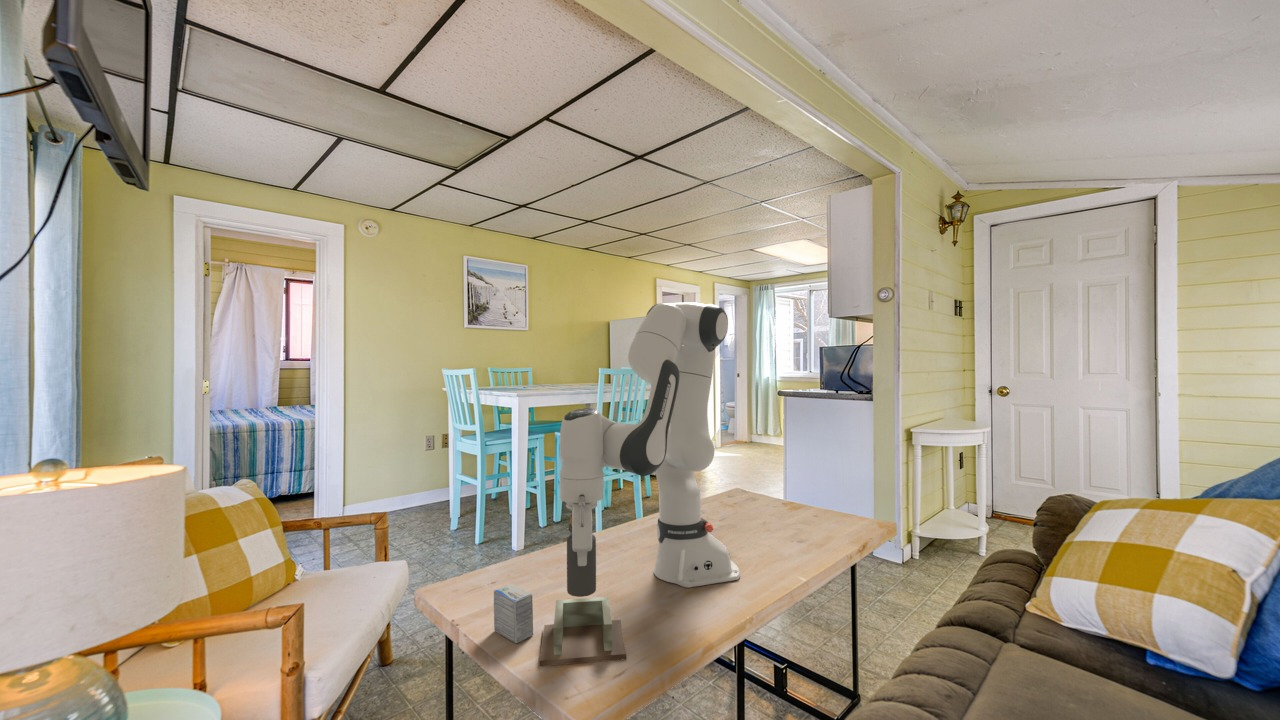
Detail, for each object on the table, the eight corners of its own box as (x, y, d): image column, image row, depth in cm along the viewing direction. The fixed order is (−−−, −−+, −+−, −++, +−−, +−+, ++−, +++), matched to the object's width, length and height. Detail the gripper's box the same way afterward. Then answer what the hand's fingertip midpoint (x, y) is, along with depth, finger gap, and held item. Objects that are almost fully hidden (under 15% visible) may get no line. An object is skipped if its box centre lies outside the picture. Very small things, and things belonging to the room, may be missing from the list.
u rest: (620, 624, 108) (620, 595, 108) (626, 659, 95) (625, 627, 95) (544, 629, 106) (544, 601, 106) (539, 666, 93) (539, 633, 93)
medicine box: (533, 635, 103) (533, 593, 103) (515, 645, 100) (515, 601, 100) (511, 623, 109) (511, 582, 109) (493, 631, 105) (493, 589, 105)
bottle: (590, 598, 98) (590, 521, 98) (562, 595, 99) (562, 519, 100) (599, 585, 104) (599, 512, 104) (572, 583, 105) (572, 511, 105)
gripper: (599, 502, 92) (599, 578, 92) (595, 478, 112) (596, 540, 112) (564, 503, 91) (564, 580, 91) (567, 479, 112) (567, 542, 111)
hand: (582, 558), depth 102 cm, fingers closed on bottle, 5 cm apart
